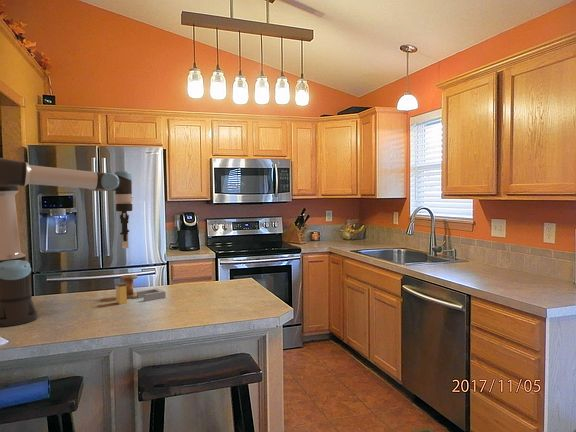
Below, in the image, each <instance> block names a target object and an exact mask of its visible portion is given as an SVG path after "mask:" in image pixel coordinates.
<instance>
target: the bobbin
mask: <svg viewBox="0 0 576 432" xmlns="http://www.w3.org/2000/svg"><path fill="white" fill-rule="evenodd" d="M137 278H138V275H137V274H125V275H120V276H119V280H122V281H123V283H126V292H127V299H135V298H137V292H135V291H134V280H135V279H137Z"/></svg>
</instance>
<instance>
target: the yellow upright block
mask: <svg viewBox="0 0 576 432" xmlns="http://www.w3.org/2000/svg"><path fill="white" fill-rule="evenodd" d="M115 301H116V302H115V303H117V304H119V305H124V304H128V301H127V292H126V283H124V281H121V282H116V283H115Z"/></svg>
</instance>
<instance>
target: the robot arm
mask: <svg viewBox="0 0 576 432" xmlns="http://www.w3.org/2000/svg"><path fill="white" fill-rule="evenodd" d="M132 182H133V180H132V173H131V172H130V171H127V170H116V171H114V173H113V172H100V171H99V172H97V171H89V170H79V169H69V168H62V167H51V166H42V165H33V164H29V163H28V162H27V161H19V160H14V159H10V158H3V157H0V327H10V326H17V325H18V326H19V325H23V324H28V323H30V322H33V321H36V320H37V319H38V316H39V315H38V310H37V308H36V305H35V304H34V301H33V299H32V297H33V295H32V274H31V273H32V268H31V263H30V262H29V261H27V258H26V254H24V253H23V252H22V249H21V241H20V232H19V231H20V230H19V222H18V215H17V204H16V195H17V194H18V193H19V187H26V186H28V185H39V186H53V187H64V188H76V189H88V190H89V191H91V192H92V191H93V192H107V191H108V192H114V197H115V212H121V214H120V215H119V219H120V224H121V232H120V235H121V247H122V249H129V233H130V229H128V224H129V219H130V217H129V216H130V215H129V214H128V212H132V211H133V203H132V202H133V199H134V196H133V195H132V194H133V189H132V184H133V183H132Z"/></svg>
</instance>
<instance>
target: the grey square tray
mask: <svg viewBox="0 0 576 432" xmlns="http://www.w3.org/2000/svg"><path fill="white" fill-rule="evenodd" d="M136 293H137V297H136V298H137V299H141V298H143V301H144V302H149V301H155V300H159V299H160V300H161V299H165V298H166V295H167V294H166V291H165V290H164V289H163V290H162V289H160V288H157V287H156V288H150V289H145V290H143V289H142V290H137V291H136Z"/></svg>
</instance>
